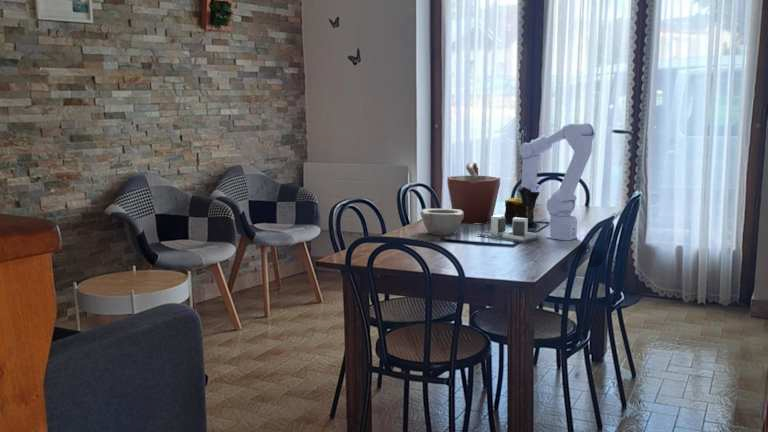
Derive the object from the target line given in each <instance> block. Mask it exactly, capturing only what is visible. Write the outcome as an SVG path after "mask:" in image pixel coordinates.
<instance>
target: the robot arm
mask: <svg viewBox="0 0 768 432" xmlns="http://www.w3.org/2000/svg"><path fill="white" fill-rule="evenodd" d="M595 136H596V133H595V130H594V127H593V125H592V124H590V123H588V122H586V123H569V124H567V125H564V126H562V128H560V129H558V130H556V131H555V132H553V133H551V134H550V135H546V134H545V135H544V134H540V135H538V137H537V138H536V139H531V140H530V142H523V143H522V144H521V145H520V147H519V154H520V156H521V158H522V163H521V165H522V166H521V168H522V169H521V185H520V188H518V190H517V191H518V192H519V193H520V197H521V198H520V199H522V204H523V206H528V209H533V210H534V209H535V206H536V203H537V199H538V197H539V196H540V193H541V192H539V191H538V190H537V189H538V187H540V184H537V182H538V181H537V180H538V179H537V177H538V175H537V174H538V162H539V158H540V155H541V154H542V153H544V152H546V151H548V150H551V149H552V147H553V145H555V144H556V143H558V142H561V141H563V140H566V141H567V143H568V145H569V146H570V147H571V149H572V150H573V151H574V153H573V155H572V158H571V160H570V162H569V164H568V168H567V170H566V172H565V175H564V176H563V178H562V181H561V184H560V186H559V188H558V189H557V190H556V191H554V192H553V193H552V195H551V197H550V198H548V200H547V201H546V210H547V212H548V213H549V215H550V220H549V221H550V225H549V227H550V228H549V235H546V236H545V238H546V239H553V240H561V241H572V240H574V239H577V238H578V236H577V235H578V230H577V229H578V219H577V217H576V216H574V215H573V216H572V212H573V211H575V208H576V201H577V196H576V195H575V191H576V189H577V187H578V184H579V182H580V179H581V177H582V175H583V173H584V170H585V168H586V166H587V165H588V164H587V163H588V162H589V159H590V158H591V154H592V151H593V141H594V138H595Z"/></svg>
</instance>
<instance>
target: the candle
mask: <svg viewBox="0 0 768 432" xmlns="http://www.w3.org/2000/svg"><path fill="white" fill-rule="evenodd" d="M504 203H505V205H504V206H505V212H504V215H505V218H506V223H508V224H507V225H513V218H514V217H517V218H528V225H530V224H532V223H534V217H535V215H534V209H528V206H523V204H522V198H520V197H518V198H517V197H511V198H509V199H506V200H505V199H504Z"/></svg>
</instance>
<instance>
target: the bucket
mask: <svg viewBox="0 0 768 432" xmlns="http://www.w3.org/2000/svg"><path fill="white" fill-rule="evenodd" d="M465 169H466V171H467V172H468V173H469V174H467V175H466V174H463V175H450V176H447V177H446V178H447V183H446V185H447V190H448V195H449V200H450V201H449V202H450V209H459V210H462V211H463V212H464V218H463V220H462V221H461V223H460V224H465V225H466V224H467V225H475V224H474V223H483V224H488V223H490V222H491V216H494V213H495V208H496V204H497V199H498V197H499V196H498V195H499V192H500V186H501V178H500V177H496V176H490V175H479V167H478V165H477V163H476V162H468V163H467V164H466V167H465ZM489 221H490V222H489ZM487 222H488V223H487Z"/></svg>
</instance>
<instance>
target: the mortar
mask: <svg viewBox="0 0 768 432" xmlns="http://www.w3.org/2000/svg"><path fill="white" fill-rule="evenodd" d="M420 215H421V220H422V222H423V224H424V227H425V228H426V230H427V232H428V233H429V234H431V235H434V236H450V235H453V234H454V233H455V232H456V231H457V230H458V228H459V226H460V225H461V224H462V223H461V221H462V220H463V218H464V212H463V211H462V210H459V209H452V208H423V209H422V210H420Z"/></svg>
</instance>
